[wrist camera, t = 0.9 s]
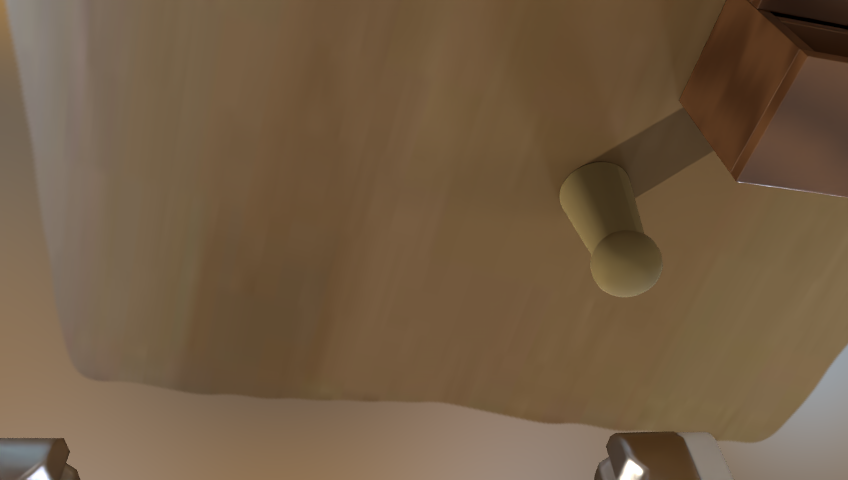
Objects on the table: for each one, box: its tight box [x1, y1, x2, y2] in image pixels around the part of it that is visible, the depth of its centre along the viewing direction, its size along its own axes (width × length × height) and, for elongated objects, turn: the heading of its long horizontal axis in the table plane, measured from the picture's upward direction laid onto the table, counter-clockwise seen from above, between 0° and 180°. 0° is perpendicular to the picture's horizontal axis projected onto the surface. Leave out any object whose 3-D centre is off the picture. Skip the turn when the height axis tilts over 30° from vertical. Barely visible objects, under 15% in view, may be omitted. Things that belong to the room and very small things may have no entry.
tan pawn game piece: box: [559, 162, 663, 297], centre depth 57 cm, size 6×6×11 cm
